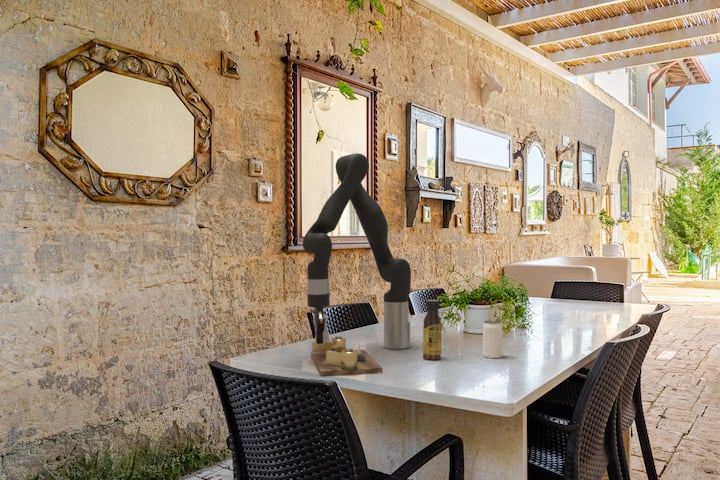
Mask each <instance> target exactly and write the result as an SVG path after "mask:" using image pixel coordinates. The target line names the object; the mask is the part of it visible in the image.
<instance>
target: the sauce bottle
mask: <svg viewBox="0 0 720 480" xmlns="http://www.w3.org/2000/svg"><path fill="white" fill-rule="evenodd" d="M439 303H440V301H439V299H427V300H426V305H427V306H426V315H425V316H424V318H423V326H422V328H423V329H422V358H423V359H424V360H433V361H435V360H440V359H441V357H442V330H443V329H442V327H443V326H442V322H441V318H440V314H439Z"/></svg>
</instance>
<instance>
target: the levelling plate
mask: <svg viewBox="0 0 720 480" xmlns="http://www.w3.org/2000/svg"><path fill="white" fill-rule="evenodd" d="M355 350H356V351H357V368H356V369H342V368H341V365H340V364H334V363H328V362H326V352H318V353H312V351H311V352H310V357H311V360H312V361H313V363H314V365H315V367H316V369H317V372H318V373H319V376H320V377H331V376H332V377H333V376H346V375H345V374H352V375H357V374H356V373H370V374H379V373H378V372H383V367H382V365H380V364H379V363H378V362H377V361H376V360H375V358H373V357H372V355H370V353H368V352H367V350H365V349H358V348H356V349H355Z"/></svg>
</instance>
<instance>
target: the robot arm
mask: <svg viewBox="0 0 720 480" xmlns="http://www.w3.org/2000/svg"><path fill="white" fill-rule="evenodd" d="M369 168H370V163H369V160H368V158H367V157H366V156H365V155H364V154H362V153H359V152H356V153H351V154H345V155H343V156H340V157H338V158H337V160H336V163H335V172H336V175H337V177H338V180H339V181H340V184H339V186H338V187H337V188H336V189H335V190H334V191H333V193H332V194H331V195H330V196H329V197H328V199H327V200H326V202H325V203H324V204H323V206H322V209H321V210H320V212H319V215H318V217H317V219H316V221H315V222H314V223H313V224H312V225H311V227H310V228H309V229H308V230H307V231H306V233H305V235H304V237H303V240H302V249H303V250H304V252H306V253H308V254H309V255H313V259H312V260H311V261H310V262H308V263H307V268H306V270H307V272H306V273H307V285H306V288H307V290H306V292H307V293H306V294H307V306H308V307H309V308H314V309H313V310H314V311H312V317H313V325H314V332H315V335H316V343H317V344H322V343H323V331H324V325H325V315H326V312H325V310H324V308H327V307H329V306H330V304H331V303H330V302H331V301H330V300H331V299H330V298H331V296H330V292H331V291H330V282H329V265H330V262H331V261H330V260H331V255H332V250H333V242H332V238H331V237H330V236H329V235H328V234H329V233H331V232H333V231H335V230H336V228H337V226H338V224H339V222H340V219H341V218H342V216H343V213H344V210H346V207H347V206H348V204H349V202H351V204H352V206H353V209H354V211H355V213H356V216H357V218H358V221H359V223H360V226H361V228H362V230H363V232H364V235H365V237H366V239H367V242H368V244H369V246H370V249H371V251H372V254H373V257H374V261H375V263H376V267H377V271H378V273H379V276H380V277H381V279H382V280H383V281H384V282H387V283H390V287H389V290H388V291H387V292H385V293H384V294H383V347H384V348H385V349H389V350H403V349H407V348H410V349H411V322H410V321H409V296H410V294H411V283H412V270H411V269H412V268H411V265H410V263H409V262H408V260H406V259H404V258H395V257H394V256H393V254H392V251H391V249H390V246H389V243H388V238H389V237H388V236H389V225H388V221H387V218H386V216H385V214H384V211H383V209H382V207H381V206H380V204H379V203H378V202H377V201H376V200H375V199H374V198H373V197H372V196H371V195H370V194H369V193H368V192H367V190H366V189H365V187H364V186H363V183H362V182H363V180H364V179H365V178H366V176H367V174H368V173H369V170H370V169H369Z"/></svg>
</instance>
